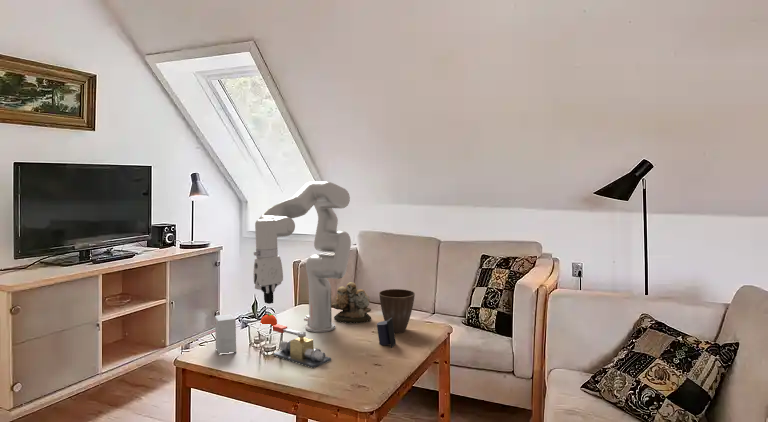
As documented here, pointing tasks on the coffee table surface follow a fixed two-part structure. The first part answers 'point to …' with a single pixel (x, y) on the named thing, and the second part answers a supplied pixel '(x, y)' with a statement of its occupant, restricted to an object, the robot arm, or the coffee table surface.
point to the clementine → (269, 319)
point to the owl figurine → (352, 305)
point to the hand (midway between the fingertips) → (268, 302)
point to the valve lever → (288, 330)
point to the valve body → (302, 352)
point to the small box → (225, 333)
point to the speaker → (386, 333)
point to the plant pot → (397, 307)
